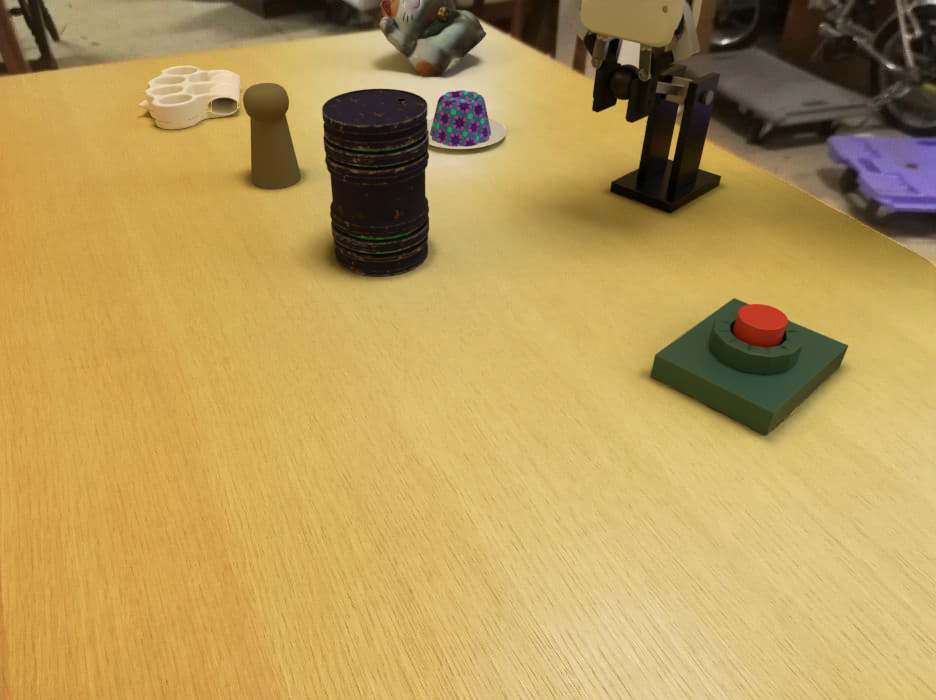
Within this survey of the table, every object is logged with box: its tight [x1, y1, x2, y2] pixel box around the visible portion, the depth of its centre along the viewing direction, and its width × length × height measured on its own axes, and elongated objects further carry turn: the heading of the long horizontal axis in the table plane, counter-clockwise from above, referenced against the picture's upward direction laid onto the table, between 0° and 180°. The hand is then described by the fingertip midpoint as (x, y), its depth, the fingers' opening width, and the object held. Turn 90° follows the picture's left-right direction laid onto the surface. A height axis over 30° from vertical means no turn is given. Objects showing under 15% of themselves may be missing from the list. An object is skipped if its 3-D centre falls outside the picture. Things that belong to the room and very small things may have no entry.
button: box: [733, 303, 789, 348], centre depth 61 cm, size 4×4×2 cm
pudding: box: [427, 89, 507, 150], centre depth 103 cm, size 12×12×5 cm
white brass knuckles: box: [137, 65, 242, 130], centre depth 115 cm, size 3×18×15 cm
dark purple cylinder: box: [321, 88, 430, 277], centre depth 76 cm, size 10×10×15 cm
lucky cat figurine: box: [379, 0, 487, 77], centre depth 125 cm, size 15×12×14 cm
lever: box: [609, 63, 694, 106], centre depth 79 cm, size 15×3×3 cm, turn 132°
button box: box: [650, 297, 849, 436], centre depth 63 cm, size 12×10×4 cm
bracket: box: [609, 63, 722, 214], centre depth 86 cm, size 10×8×13 cm
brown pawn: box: [242, 82, 302, 190], centre depth 92 cm, size 6×6×11 cm
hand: (620, 111), depth 77 cm, fingers closed on lever, 3 cm apart
